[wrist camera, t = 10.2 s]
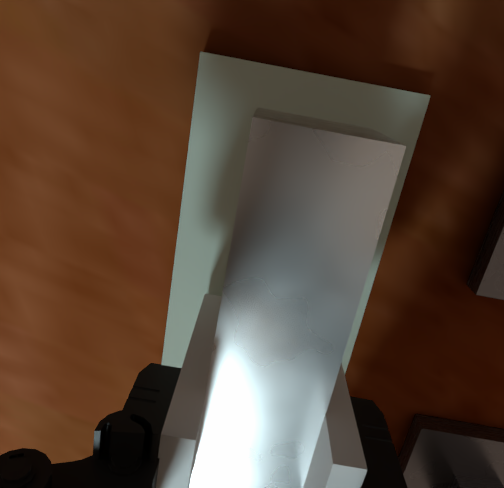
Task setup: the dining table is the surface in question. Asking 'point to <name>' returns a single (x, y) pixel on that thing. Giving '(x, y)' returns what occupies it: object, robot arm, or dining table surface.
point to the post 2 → (491, 259)
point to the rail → (290, 294)
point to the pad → (233, 159)
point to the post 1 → (452, 454)
